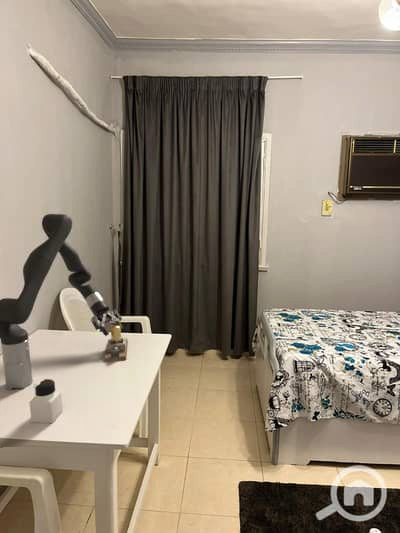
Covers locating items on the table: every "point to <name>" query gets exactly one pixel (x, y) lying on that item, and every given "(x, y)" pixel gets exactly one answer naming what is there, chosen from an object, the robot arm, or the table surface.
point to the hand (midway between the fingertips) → (114, 332)
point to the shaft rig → (116, 350)
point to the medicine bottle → (45, 402)
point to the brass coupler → (115, 334)
